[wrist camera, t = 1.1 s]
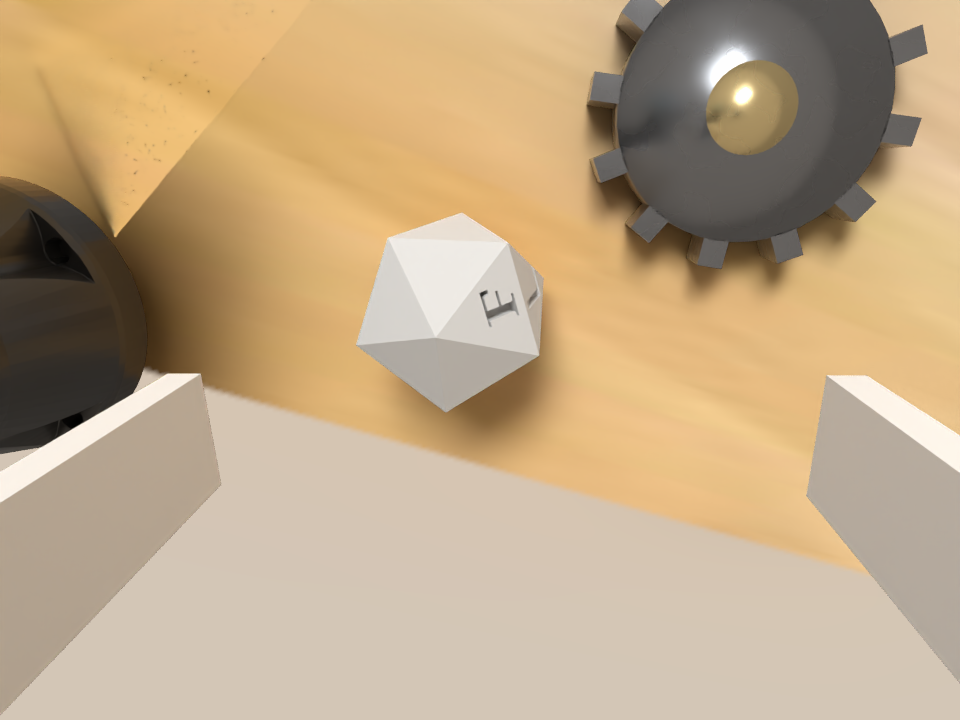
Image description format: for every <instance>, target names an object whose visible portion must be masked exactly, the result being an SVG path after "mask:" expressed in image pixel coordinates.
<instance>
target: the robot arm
mask: <svg viewBox="0 0 960 720" xmlns="http://www.w3.org/2000/svg"><path fill="white" fill-rule="evenodd" d="M146 352H147V326H146V319H145V313H144V309H143V304H142V301H141V298H140V294H139V292H138V289H137V286H136V284H135V281H134V279H133V277H132V275H131V273H130V271H129V269H128V267H127V265H126V263H125V262H124V260H123V258H122V257H121V255H120V254H119V252H118V251H117V249H116V248H115V246H114V245H113V244H112V243H111V241H110V240H109V239H108V237H107V236H106V235H105V234H104V233H103V232H102V230H101V229H100V228H99V227H98V226H97V225H96V224H95V223H94V222H93V221H92V220H91V219H89V218H88V217H87V216H86V215H85V214H84V213H83V212H81V211H80V210H79V209H78V208H76V207H75V206H74V205H72V204H71V203H69V202H68V201H66V200H65V199H63V198H62V197H60V196H58V195H56V194H55V193H53V192H51V191H49V190H47V189H45V188H42V187H40V186H38V185H35V184H32V183H30V182H26V181H23V180H19V179H15V178H10V177H3V176H0V454H4V453H10V452H16V451H21V450H27V449H33V448H39V447H41V448H40V449H38V450H37V451H34V452H33V453H31V454H29V455H28V456H26V457H24V458H22V459H21V460H19V461H17V462H16V463H14V464H12V465H11V466H9V467H7V468H5V469H4V470H2V471H0V715H1V714H2V713H3V712H4V711H5V710H6V709H7V708H8V706H10V705H11V703H12V702H13V701H14V700H15V699H16V698H17V697H18V696H19V695H20V694H21V693H22V692H23V691H24V690H25V689H26V688H27V687H28V686H29V685H30V683H32V682H33V680H34V679H35V678H36V677H37V676H38V675H39V674H40V673H41V672H42V671H43V670H44V669H45V668H46V667H47V666H48V665H49V664H50V663H51V662H52V661H53V660H54V659H55V658H56V657H57V655H58V654H59V653H60V652H61V651H62V650H63V649H64V648H65V647H66V646H67V645H68V644H69V643H70V642H71V641H72V640H73V639H74V638H75V636H77V635H78V634H79V632H80V631H81V630H82V629H83V628H84V627H85V626H86V625H87V624H88V623H89V622H90V621H91V620H92V619H93V618H94V617H95V616H96V615H97V614H98V613H99V612H100V610H102V608H103V607H104V606H105V605H106V604H107V603H108V602H109V601H110V600H111V599H112V598H113V597H114V596H115V595H116V594H117V593H118V592H119V591H120V590H121V589H122V588H123V586H125V584H126V583H127V582H128V581H129V580H130V579H131V578H132V577H133V576H134V575H135V574H136V573H137V572H138V571H139V570H140V569H141V568H142V567H143V566H144V565H145V564H146V563H147V562H148V560H149V559H150V558H151V557H152V556H153V555H154V554H155V553H156V552H157V551H158V550H159V549H160V548H161V547H162V546H163V545H164V544H165V542H167V541H168V539H170V538H171V536H172V535H173V534H174V533H175V532H176V531H177V530H178V529H179V528H180V527H181V526H182V525H183V524H184V523H185V522H186V521H187V520H188V519H189V518H190V517H191V516H192V515H193V513H194V512H195V511H196V510H197V509H198V508H199V507H200V506H201V505H202V504H203V503H204V502H205V501H206V500H207V499H208V498H209V497H210V496H211V495H212V494H213V493H214V492H215V491H216V490H217V488H218V487H219V486H220V485H221V480H220V475H219V470H218V464H217V459H216V453H215V448H214V443H213V437H212V432H211V426H210V421H209V415H208V410H207V405H206V399H205V394H204V388H203V383H202V378H201V374H166V375H164V376H163V377H161V378H159V379H157V380H156V381H154V382H152V383H151V384H149V385H147V386H145V387H144V388H142V389H140V390H139V391H137V392H135V393H134V394H133V392H134V390H135V388H136V387H137V385H138V382H139V380H140V378H141V375H142V372H143V368H144V364H145V359H146ZM807 497H808V499H809V500H810V501H811V502H812V503H813V505H814V506H815V507H816V508H817V510H818V511H819V512H820V513H821V515H822V516H823V517H824V518H825V519H826V521H827V522H828V523H829V524H830V526H831V527H832V528H833V529H834V530H835V532H836V533H837V534H838V535H839V537H840V538H841V539H842V540H843V541H844V543H845V544H846V545H847V546H848V548H849V549H850V550H851V551H852V552H853V554H854V555H855V556H856V557H857V559H858V560H859V561H860V562H861V563H862V565H863V566H864V567H865V568H866V570H867V571H868V572H869V573H870V574H871V576H872V577H873V578H874V579H875V581H876V582H877V583H878V584H879V585H880V587H881V588H882V589H883V590H884V591H885V592H886V594H887V595H888V596H889V598H890V599H891V600H892V601H893V602H894V604H895V605H896V606H897V607H898V609H899V610H900V611H901V612H902V613H903V615H904V616H905V617H906V618H907V620H908V621H909V622H910V623H911V624H912V626H913V627H914V628H915V629H916V631H917V632H918V633H919V634H920V636H921V637H922V638H923V639H924V640H925V641H926V643H927V644H928V645H929V647H930V648H931V649H932V650H933V651H934V653H935V654H936V655H937V656H938V658H939V659H940V660H941V661H942V662H943V664H944V665H945V666H946V667H947V668H948V670H949V671H950V672H951V673H952V675H953V676H954V677H955V678H956V679H957V681H958V682H959V683H960V435H958V434H957V433H955V432H954V431H952V430H951V429H949V428H947V427H946V426H944V425H943V424H941V423H940V422H938V421H936V420H935V419H933V418H932V417H930V416H929V415H927V414H926V413H924V412H922V411H921V410H919V409H918V408H916V407H915V406H913V405H912V404H910V403H908V402H907V401H905V400H904V399H902V398H901V397H899V396H898V395H896V394H894V393H893V392H891V391H890V390H888V389H887V388H885V387H884V386H882V385H880V384H879V383H877V382H876V381H874V380H873V379H871V378H870V377H868V376H830V375H826V381H825V387H824V393H823V399H822V405H821V411H820V417H819V423H818V429H817V435H816V441H815V447H814V453H813V459H812V466H811V472H810V478H809V484H808V490H807Z"/></svg>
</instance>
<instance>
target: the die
mask: <svg viewBox="0 0 960 720" xmlns="http://www.w3.org/2000/svg"><path fill="white" fill-rule="evenodd" d="M543 280H544V278H543V277H542V276H541V275H540V274H539V273H538V272H537V271H536V270H535V269H534V268H533V267H532V266H531V265H530V264H529V263H528V262H527V261H526V260H525V259H524V258H523V257H522V256H521V255H520V254H519V253H518V252H517V251H516V250H515V249H514V248H513V247H512V246H511V245H510V244H509V243H508V242H506V241H505V240H503V239H502V238H500V237H499V236H497V235H495V234H494V233H492V232H491V231H489V230H488V229H486V228H485V227H483V226H482V225H480V224H479V223H477V222H476V221H474V220H472V219H471V218H469V217H468V216H466V215H465V214H463V213H459V214H456V215H453V216H450V217H447V218H445V219H442V220H439V221H436V222H433V223H430V224H427V225H424V226H421V227H418V228H415V229H412V230H409V231H406V232H404V233H401V234H398V235H395V236H392V237H389V238H388V239H387V243H386V246H385V249H384V253H383V256H382V259H381V263H380V266H379V270H378V273H377V276H376V280H375V283H374V287H373V290H372V293H371V297H370V300H369V303H368V307H367V310H366V314H365V317H364V320H363V324H362V327H361V330H360V334H359V337H358V341H357V344H356V346H358V347H359V348H360V349H362V350H363V351H364V352H366V353H367V354H368V355H370V356H371V357H372V358H374V359H375V360H376V361H378V362H379V363H380V364H382V365H383V366H384V367H386V368H387V369H388V370H390V371H391V372H392V373H394V374H395V375H396V376H398V377H399V378H400V379H402V380H403V381H404V382H406V383H407V384H408V385H410V386H411V387H412V388H414V389H415V390H416V391H418V392H419V393H420V394H422V395H423V396H424V397H426V398H427V399H428V400H430V401H431V402H432V403H434V404H435V405H436V406H438V407H439V408H440V409H442V410H443V411H444V412H448V411H449V410H451V409H452V408H454V407H456V406H457V405H459V404H461V403H462V402H464V401H466V400H467V399H469V398H471V397H472V396H474V395H476V394H477V393H479V392H480V391H482V390H484V389H485V388H487V387H489V386H490V385H492V384H494V383H495V382H497V381H499V380H500V379H502V378H503V377H505V376H507V375H508V374H510V373H512V372H513V371H515V370H517V369H518V368H520V367H522V366H523V365H525V364H527V363H528V362H530V361H531V360H533V359H535V358H536V357H538V356H539V351H540V334H541V316H542V298H543Z"/></svg>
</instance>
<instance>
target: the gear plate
mask: <svg viewBox="0 0 960 720" xmlns="http://www.w3.org/2000/svg"><path fill="white" fill-rule="evenodd" d="M616 25H617V26H618V27H619V28H620V29H621V30H622V31H623V32H625V33H626V34H627V35H628V36H629V37H630V38H631V39H632V40H633V41H635V42H636V45H635V46H634V48H633V50H632V51H631V53H630V55H629V57H628V59H627V61H626V63H625V65H624V68H623V70H622V73H621V75H615V74H608V73H601V72H594V74H593V77H592V79H591V83H590V89H589V94H588V99H587V105H589V106H596V107H603V108H610V109H613V112H612V133H613V142H614V148H615V149H614V150H612V151H609V152H607V153H604V154H602V155H599V156H597V157H594V158H592V159H590V162H591V165H592V168H593V171H594V174H595V177H596V180H597V182H599V183H602V182H605V181H607V180H610V179H612V178H615V177H617V176H620V175H622V174H623V176H624V177H625V179H626V181H627V183H628V185H629V186H630V188H631V190H632V191H633V192H634V193H635V195H636V196H637V197H638V199H639V200H640V201H641V202H642V204H641V205H640V206H639V207H638V208H637V210H636V211H635V212H634V213H633V214H632V215H631V216H630V218H629V219H628V220H627V221H626V222H625V224H626V225H627V226H629V227H630V228H631V229H632V230H633V231H634V232H636V233H637V234H638V235H639V236H640V237H641V238H643V239H644V240H645V241H647V242H648V243H650V241H651V240H652V239H653V238H654V237H655V236H656V235H657V234H658V233H659V231H660V230H661V229H662V228H663V227H664V226H665V225H666V224H667V223H669V224H671V225H673V226H675V227H677V228H679V229H681V230H683V231H686V232H688V233H691V234H692V236H691V240H690V244H689V248H688V252H687V256H686V258H687V259H689V260H690V261H692V262H693V263H695V264H696V265H700V266H706V267H712V268H719V269H722V265H723V261H724V258H725V254H726V250H727V247H728V243H729V242H750V241H756V242H757V246H758V249H759V253H760V256H761V257H763V258H765V259H768V260H770V261H773V262H775V263H777V264H778V263H781V262H784V261H787V260H789V259H792V258H795V257H798V256H801V255H803V252H802V248H801V244H800V240H799V236H798V232H797V228H799V227H801V226H803V225H804V224H806V223H808V222H810V221H812V220H813V219H815V218H817V217H818V216H820V215H821V214H822V213H824V212H826V213H827V214H828V215H829V216H830V217H831V218H835V219H841V220H847V221H852V222H856V221H857V220H858V219H859V218H860V217H861V216H862V215H863V214H864V213H865V212H866V211H867V210H868V209H869V208H870V207H871V206H872V205H873V204H874V203H875V202H876V201H875V200H874V199H873V198H872V197H871V196H870V195H869V194H868V193H866V192H865V191H864V190H863V189H862V188H861V187H860V186H859V185H858V184H857V183H856V182H857V181H858V180H859V178H860V177H861V175H862V174H863V173H864V171H865V170H866V168H867V167H868V166H869V164H870V163H871V161H872V159H873V157H874V155H875V153H876V152H877V150H878V148H894V147H911V146H912V144H913V141H914V138H915V135H916V132H917V130H918V127H919V124H920V121H921V118H918V117H910V116H903V115H896V114H891V111H892V105H893V98H894V91H895V67H894V66H897V65H899V64H902V63H904V62H907V61H910V60H912V59H915V58H917V57H920V56H922V55H925V54H927V47H926V41H925V36H924V30H923V25H920V26H917V27H915V28H912V29H910V30H907V31H904V32H902V33H899V34H897V35H894V36H891V37H888V33H887V31H886V29H885V26H884V24H883V22H882V20H881V17H880V16H879V14H878V12H877V11H876V9H875V8H874V6H873V5H872V3H871V1H870V0H670V1H669V2H668V3H667V4H666V5H665V6H664V7H662V6H661V5H659V4H658V3H657V2H656V1H655V0H630V1H629V3H628V4H627V5H626V7H625V8H624V9H623V11H622V12H621V14H620V16H619V18H618V21H617V23H616Z"/></svg>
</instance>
